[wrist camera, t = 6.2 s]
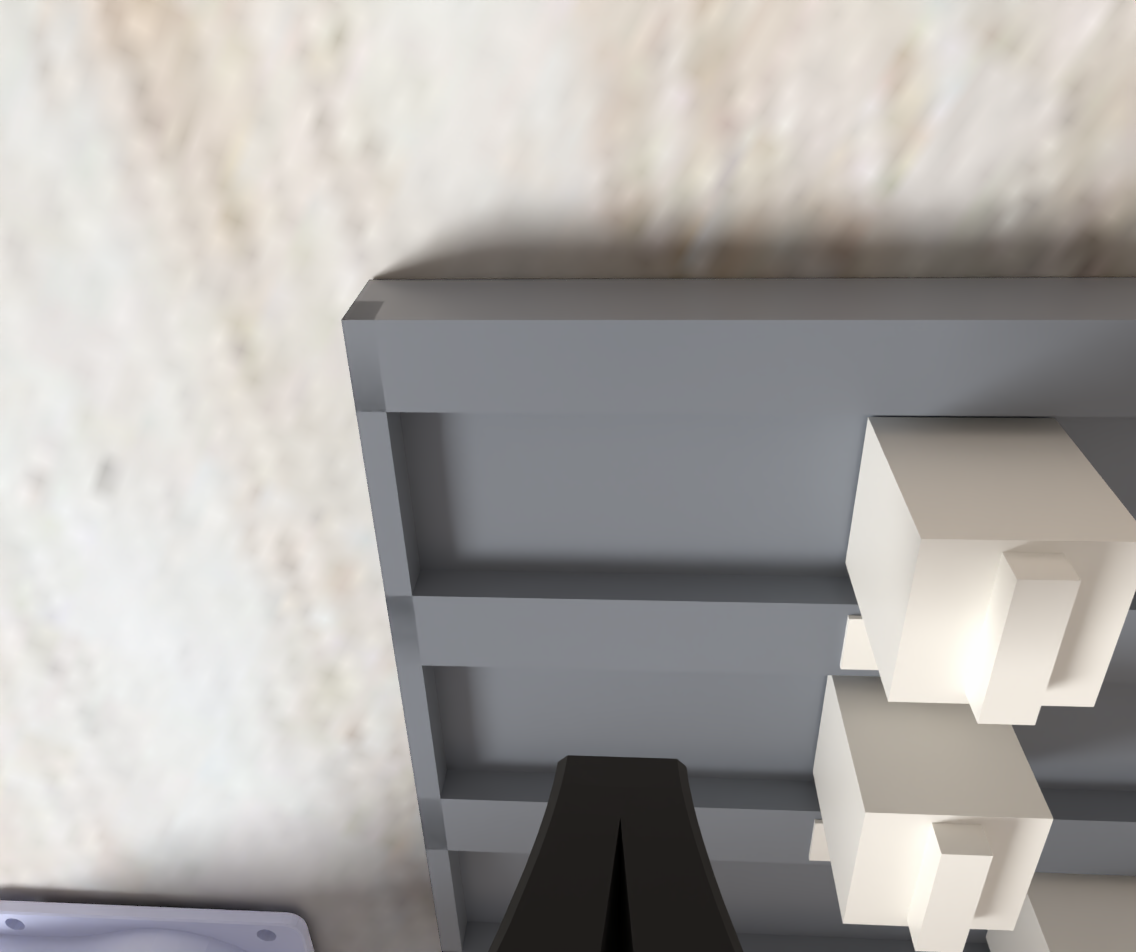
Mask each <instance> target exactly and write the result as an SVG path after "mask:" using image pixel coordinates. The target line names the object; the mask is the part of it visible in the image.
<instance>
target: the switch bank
mask: <svg viewBox="0 0 1136 952" xmlns="http://www.w3.org/2000/svg"><path fill="white" fill-rule="evenodd" d="M341 321H342V327H343V333H344V339H345V346H346V352H347V358H348V365H349V371H350V377H351V383H352V390H353V396H354V402H355V409H356V415H357V421H358V427H359V434H360V440H361V446H362V453H363V459H364V465H365V471H366V478H367V484H368V490H369V497H370V503H371V509H372V515H373V522H374V528H375V534H376V540H377V547H378V553H379V559H380V566H381V572H382V578H383V584H384V591H385V597H386V603H387V610H388V616H389V622H390V628H391V635H392V641H393V647H394V654H395V660H396V666H397V672H398V679H399V685H400V691H401V698H402V704H403V710H404V716H405V723H406V729H407V735H408V742H409V748H410V754H411V760H412V767H413V773H414V779H415V786H416V792H417V798H418V804H419V811H420V817H421V823H422V830H423V836H424V842H425V848H426V855H427V861H428V867H429V873H430V880H431V886H432V892H433V899H434V905H435V911H436V917H437V924H438V930H439V936H440V943H441V949H442V952H488V950H489V948H490V946H491V944H492V942H493V940H494V938H495V936H496V934H497V931H498V929H499V927H500V925H501V922H502V920H503V918H504V915H505V913H506V911H507V908H508V906H509V904H510V901H511V899H512V897H513V894H514V892H515V890H516V887H517V885H518V883H519V880H520V878H521V876H522V873H523V871H524V869H525V866H526V863H527V861H528V858H529V855H530V853H531V850H532V847H533V845H534V842H535V839H536V837H537V834H538V831H539V828H540V825H541V822H542V820H543V816H544V813H545V810H546V807H547V804H548V800H549V797H550V793H551V790H552V786H553V782H554V778H555V773H556V768H557V763H558V762H559V761H560V760H561V759H563V758H564V757H566V756H567V755H577V756H609V757H640V758H671V759H678V760H679V761H680V762H682V763H683V764H684V765H685V766H686V767H687V774H688V781H689V786H690V791H691V795H692V800H693V805H694V809H695V812H696V816H697V820H698V824H699V827H700V831H701V834H702V838H703V841H704V844H705V847H706V851H707V854H708V857H709V860H710V863H711V866H712V869H713V872H714V875H715V878H716V881H717V884H718V887H719V889H720V892H721V895H722V898H723V901H724V903H725V906H726V908H727V911H728V913H729V916H730V919H731V921H732V924H733V926H734V929H735V931H736V934H737V936H738V939H739V942H740V944H741V947H742V949H743V952H926V951H915V949H914V945H913V942H912V938H911V934H910V930H909V926H890V925H865V924H843V922H842V917H841V912H840V907H839V902H838V897H837V892H836V886H835V881H834V876H833V871H832V866H831V861H830V856H829V851H828V846H827V841H826V836H825V831H824V826H823V821H822V816H821V811H820V806H819V801H818V796H817V791H816V786H815V781H814V776H813V767H814V760H815V754H816V748H817V741H818V735H819V728H820V722H821V716H822V709H823V703H824V696H825V690H826V684H827V677H828V675H838V676H879V677H880V674H879V670H878V667H877V664H876V661H875V657H874V654H873V651H872V648H871V644H870V641H869V638H868V635H867V631H866V628H865V625H864V622H863V619H862V615H861V612H860V609H859V606H858V602H857V599H856V596H855V593H854V589H853V586H852V583H851V580H850V576H849V573H848V570H847V567H846V563H845V562H846V555H847V549H848V542H849V536H850V530H851V523H852V517H853V510H854V504H855V498H856V491H857V485H858V478H859V472H860V465H861V459H862V453H863V446H864V440H865V433H866V427H867V421H868V417H946V418H1055V419H1056V420H1057V422H1058V423H1059V424H1060V425H1061V427H1062V428H1063V429H1064V431H1065V432H1066V433H1067V434H1068V436H1069V437H1070V438H1071V439H1072V441H1073V442H1074V443H1075V444H1076V446H1077V447H1078V448H1079V449H1080V451H1081V452H1082V453H1083V455H1084V456H1085V457H1086V458H1087V460H1088V461H1089V462H1090V463H1091V465H1092V466H1093V467H1094V468H1095V470H1096V471H1097V472H1098V474H1099V475H1100V476H1101V477H1102V479H1103V480H1104V481H1105V482H1106V484H1107V485H1108V486H1109V487H1110V489H1111V490H1112V491H1113V492H1114V494H1115V495H1116V496H1117V498H1118V499H1119V500H1120V501H1121V503H1122V504H1123V505H1124V506H1125V508H1126V509H1127V510H1128V511H1129V513H1130V514H1131V515H1132V516H1133V518H1134V519H1135V520H1136V277H1085V278H758V279H432V280H369V281H368V282H367V284H366V285H365V287H364V288H363V290H362V291H361V292H360V294H359V295H358V297H357V298H356V300H355V301H354V303H353V304H352V305H351V307H350V308H349V310H348V311H347V313H346V314H345V316H344V317H343V318H342V320H341ZM1012 727H1013V729H1014V732H1015V734H1016V736H1017V738H1018V741H1019V743H1020V745H1021V747H1022V750H1023V752H1024V754H1025V756H1026V758H1027V761H1028V763H1029V765H1030V767H1031V770H1032V772H1033V774H1034V776H1035V779H1036V781H1037V783H1038V785H1039V787H1040V790H1041V792H1042V794H1043V796H1044V799H1045V801H1046V803H1047V805H1048V808H1049V810H1050V812H1051V814H1052V817H1053V822H1052V825H1051V827H1050V830H1049V833H1048V836H1047V839H1046V841H1045V844H1044V847H1043V850H1042V852H1041V855H1040V858H1039V861H1038V864H1037V866H1036V869H1035V872H1039V873H1066V874H1092V875H1119V876H1136V591H1135V594H1134V596H1133V599H1132V602H1131V605H1130V607H1129V610H1128V613H1127V616H1126V619H1125V621H1124V624H1123V627H1122V630H1121V633H1120V635H1119V638H1118V641H1117V644H1116V646H1115V649H1114V652H1113V655H1112V658H1111V660H1110V663H1109V666H1108V669H1107V672H1106V674H1105V677H1104V680H1103V683H1102V685H1101V688H1100V691H1099V694H1098V697H1097V699H1096V702H1095V705H1094V707H1075V706H1041V708H1040V711H1039V714H1038V717H1037V720H1036V724H1035V725H1012ZM987 931H988V930H986V929H970V930H969V933H968V936H967V940H966V943H965V946H964V949H963V952H990V949H989V946H988V943H987V940H986V934H987Z"/></svg>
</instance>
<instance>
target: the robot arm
mask: <svg viewBox="0 0 1136 952" xmlns="http://www.w3.org/2000/svg"><path fill="white" fill-rule="evenodd" d="M0 952H314V948H313V945H312V941H311V938H310V934H309V930H308V927H307V924H306V922H305V921H304V919H302V918H301V917H300V916H298V915H296V914H293V913H288V912H269V911H245V910H222V909H198V908H174V907H151V906H127V905H103V904H80V903H56V902H32V901H9V900H0ZM488 952H743V949H742V947H741V944H740V942H739V939H738V936H737V934H736V931H735V929H734V926H733V924H732V921H731V919H730V916H729V913H728V911H727V908H726V906H725V903H724V901H723V898H722V895H721V892H720V889H719V887H718V884H717V881H716V878H715V875H714V872H713V869H712V866H711V863H710V860H709V857H708V854H707V851H706V847H705V844H704V841H703V838H702V834H701V831H700V827H699V824H698V820H697V816H696V812H695V809H694V805H693V800H692V795H691V791H690V786H689V781H688V774H687V767H686V766H685V765H684V764H683V763H682V762H680V761H679V760H678V759H671V758H640V757H609V756H577V755H567V756H566V757H564V758H563V759H561V760H560V761H559V762H558V763H557V768H556V773H555V778H554V782H553V786H552V790H551V793H550V797H549V800H548V804H547V807H546V810H545V813H544V816H543V820H542V822H541V825H540V828H539V831H538V834H537V837H536V839H535V842H534V845H533V847H532V850H531V853H530V855H529V858H528V861H527V863H526V866H525V869H524V871H523V873H522V876H521V878H520V880H519V883H518V885H517V887H516V890H515V892H514V894H513V897H512V899H511V901H510V904H509V906H508V908H507V911H506V913H505V915H504V918H503V920H502V922H501V925H500V927H499V929H498V931H497V934H496V936H495V938H494V940H493V942H492V944H491V946H490V948H489V950H488Z"/></svg>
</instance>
